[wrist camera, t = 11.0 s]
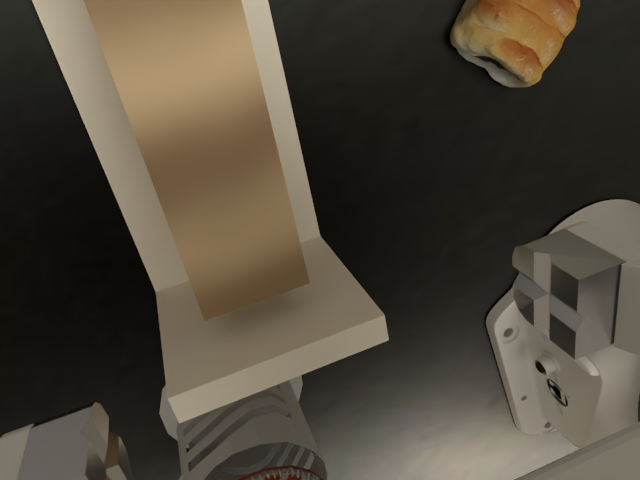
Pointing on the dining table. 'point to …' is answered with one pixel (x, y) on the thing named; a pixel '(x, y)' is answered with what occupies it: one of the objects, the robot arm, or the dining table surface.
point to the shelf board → (205, 143)
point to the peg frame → (164, 259)
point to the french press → (247, 437)
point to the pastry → (513, 36)
